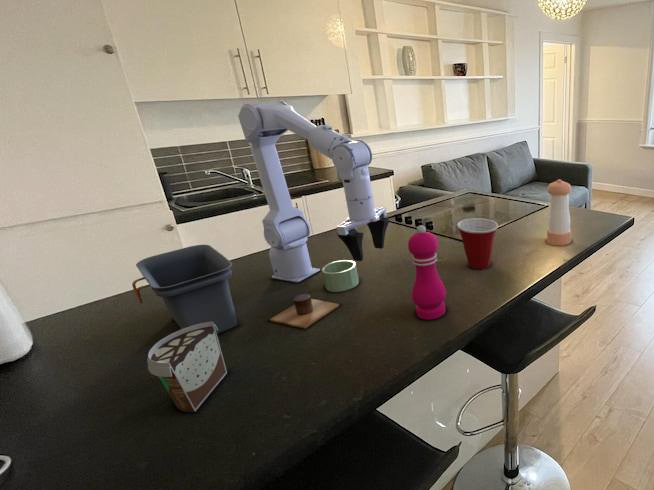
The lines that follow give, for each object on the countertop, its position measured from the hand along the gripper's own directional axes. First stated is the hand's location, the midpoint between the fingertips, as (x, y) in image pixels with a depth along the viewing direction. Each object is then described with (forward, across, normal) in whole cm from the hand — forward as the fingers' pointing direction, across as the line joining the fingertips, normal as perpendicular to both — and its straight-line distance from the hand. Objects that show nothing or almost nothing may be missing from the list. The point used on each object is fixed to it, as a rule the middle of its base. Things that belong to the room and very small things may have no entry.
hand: (369, 253), depth 95 cm
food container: (+10, -39, +7) cm, 41 cm away
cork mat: (+10, -13, +9) cm, 19 cm away
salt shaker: (+10, +44, -34) cm, 57 cm away
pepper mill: (+10, -4, -18) cm, 21 cm away
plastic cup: (+10, +22, -18) cm, 30 cm away
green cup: (+10, +1, +11) cm, 15 cm away
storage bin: (+10, -24, +28) cm, 38 cm away
